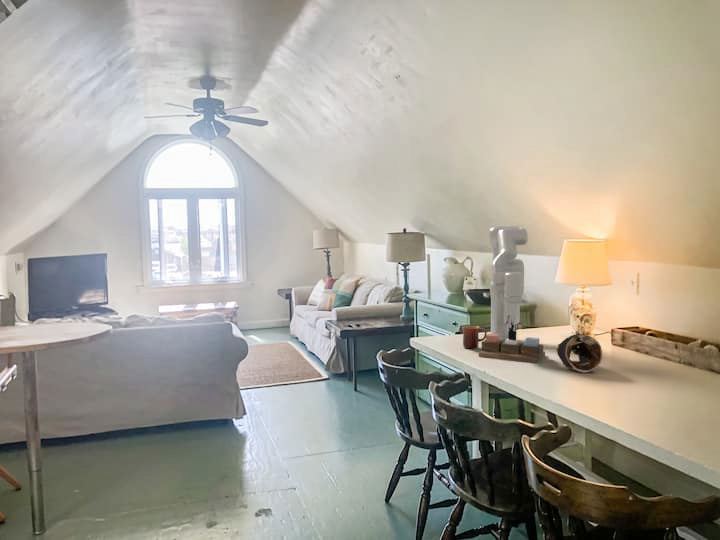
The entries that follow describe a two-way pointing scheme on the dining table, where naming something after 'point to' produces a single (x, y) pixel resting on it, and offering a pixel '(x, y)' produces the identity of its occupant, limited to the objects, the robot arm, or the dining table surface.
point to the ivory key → (512, 341)
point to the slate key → (532, 342)
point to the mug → (472, 336)
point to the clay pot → (580, 352)
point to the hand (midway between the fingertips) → (512, 339)
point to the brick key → (493, 338)
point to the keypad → (512, 351)
